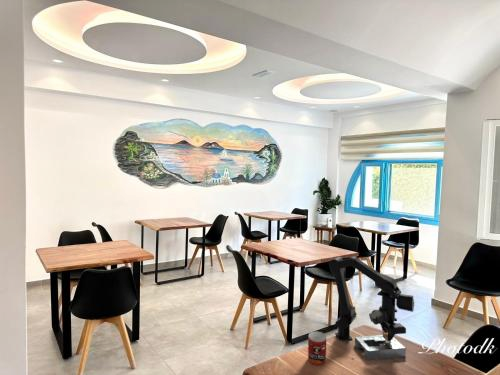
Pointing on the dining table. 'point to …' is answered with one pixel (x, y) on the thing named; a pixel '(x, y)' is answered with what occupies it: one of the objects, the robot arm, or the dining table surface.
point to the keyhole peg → (385, 336)
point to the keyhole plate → (380, 347)
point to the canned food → (317, 348)
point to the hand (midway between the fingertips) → (387, 339)
